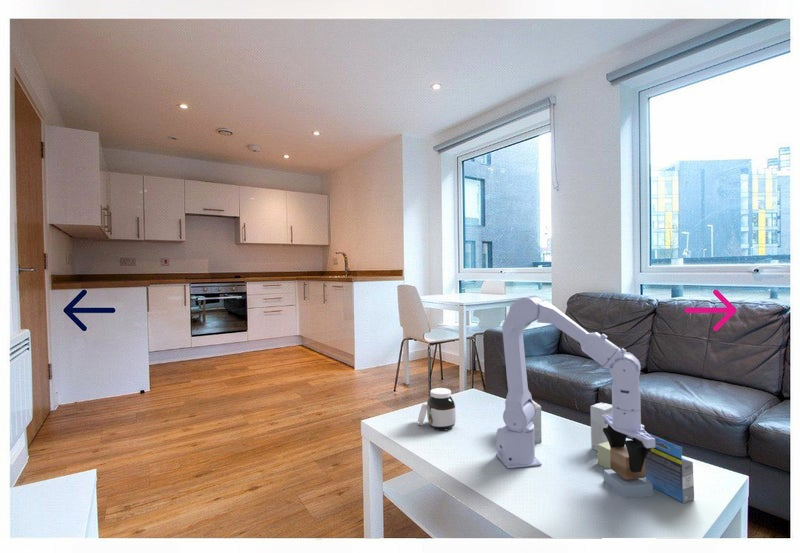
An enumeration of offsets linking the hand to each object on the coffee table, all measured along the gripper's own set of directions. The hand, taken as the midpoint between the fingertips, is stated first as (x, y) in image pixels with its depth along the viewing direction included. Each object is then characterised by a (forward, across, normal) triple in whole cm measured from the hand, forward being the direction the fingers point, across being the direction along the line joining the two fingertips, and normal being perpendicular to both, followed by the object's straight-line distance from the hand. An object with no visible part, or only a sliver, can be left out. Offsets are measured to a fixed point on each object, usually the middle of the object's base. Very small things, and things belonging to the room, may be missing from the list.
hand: (627, 465), depth 89 cm
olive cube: (+5, +10, -4) cm, 12 cm away
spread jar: (+6, +44, +35) cm, 56 cm away
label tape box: (+6, -3, -8) cm, 10 cm away
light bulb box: (+6, +31, +10) cm, 33 cm away
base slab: (+6, 0, 0) cm, 6 cm away
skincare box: (+6, +19, -8) cm, 21 cm away
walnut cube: (+2, 0, 0) cm, 2 cm away
